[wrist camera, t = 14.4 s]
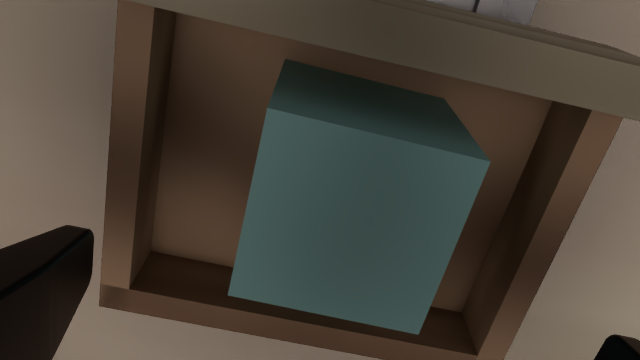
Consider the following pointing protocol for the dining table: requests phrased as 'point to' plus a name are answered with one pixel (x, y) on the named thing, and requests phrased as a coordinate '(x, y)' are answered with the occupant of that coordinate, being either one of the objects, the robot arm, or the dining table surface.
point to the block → (355, 199)
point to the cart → (369, 63)
